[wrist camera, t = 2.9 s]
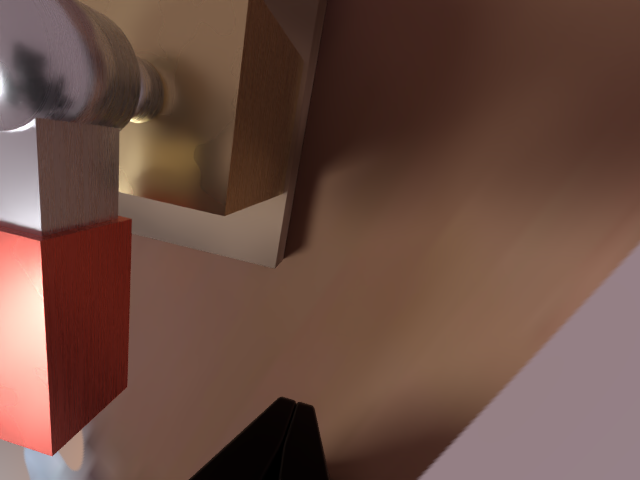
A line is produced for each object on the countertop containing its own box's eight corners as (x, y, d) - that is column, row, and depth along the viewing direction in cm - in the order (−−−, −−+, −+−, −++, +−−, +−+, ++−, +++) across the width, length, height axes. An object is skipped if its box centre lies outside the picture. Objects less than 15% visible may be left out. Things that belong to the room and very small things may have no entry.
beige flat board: (282, 259, 17) (274, 268, 15) (-62, 176, 19) (-97, 177, 18) (331, -24, 13) (326, -45, 12) (-98, -85, 16) (-146, -109, 14)
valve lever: (35, 0, 7) (-118, -72, 5) (146, 19, 6) (36, -50, 4) (53, 364, 9) (-42, 424, 7) (133, 388, 9) (60, 458, 7)
